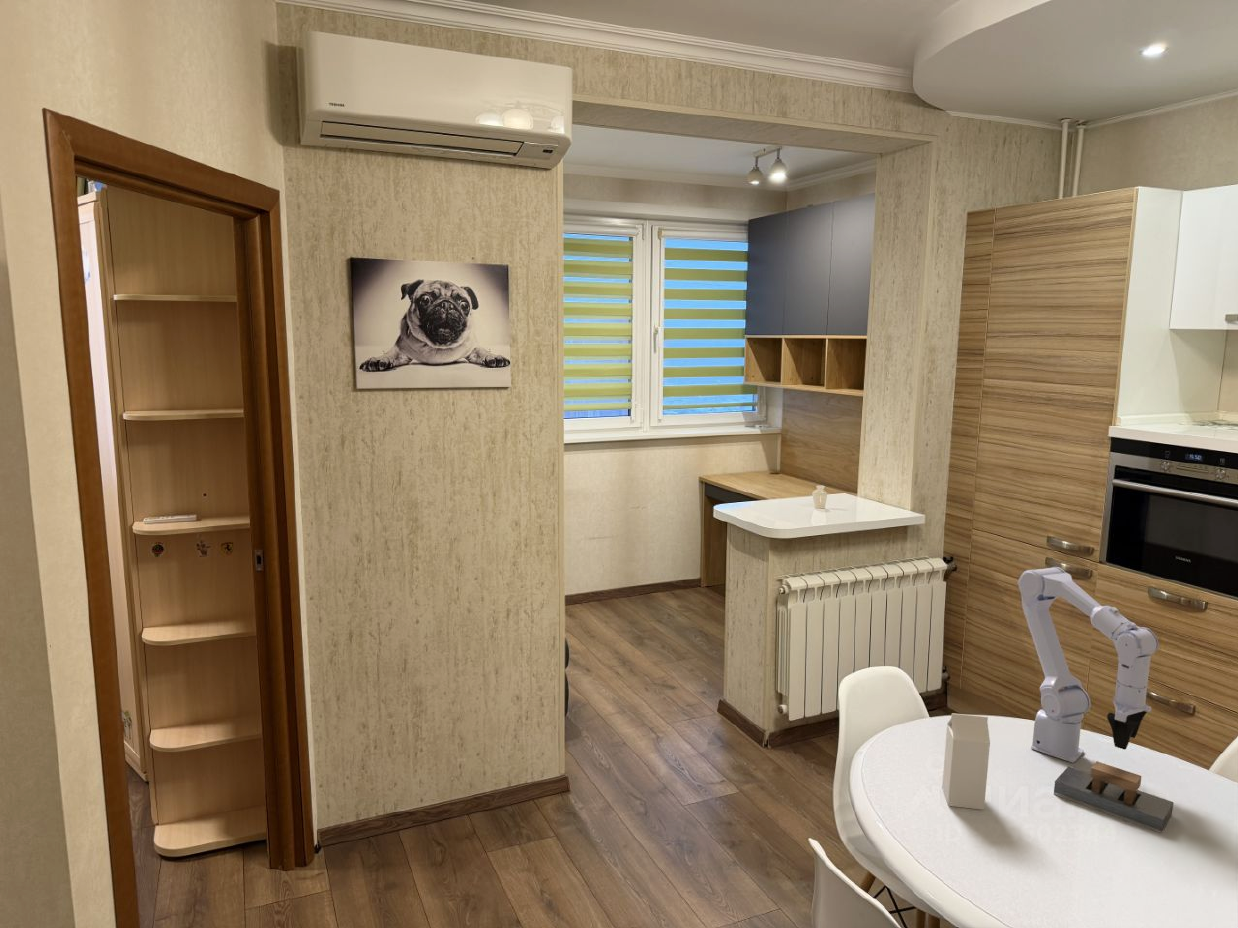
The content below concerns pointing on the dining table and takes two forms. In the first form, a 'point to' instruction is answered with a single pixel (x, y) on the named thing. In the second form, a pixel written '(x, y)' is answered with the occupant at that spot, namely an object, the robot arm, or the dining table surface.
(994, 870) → the dining table surface
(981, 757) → the milk carton
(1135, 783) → the wooden arch block
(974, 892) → the dining table surface
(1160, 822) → the grey slotted block
